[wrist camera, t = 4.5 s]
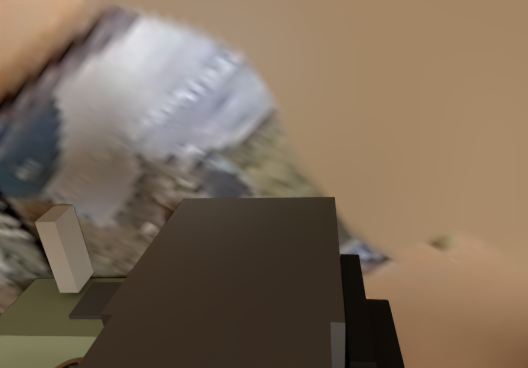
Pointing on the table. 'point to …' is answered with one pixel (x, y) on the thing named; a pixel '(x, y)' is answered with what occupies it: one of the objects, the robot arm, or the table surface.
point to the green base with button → (56, 301)
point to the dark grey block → (231, 290)
